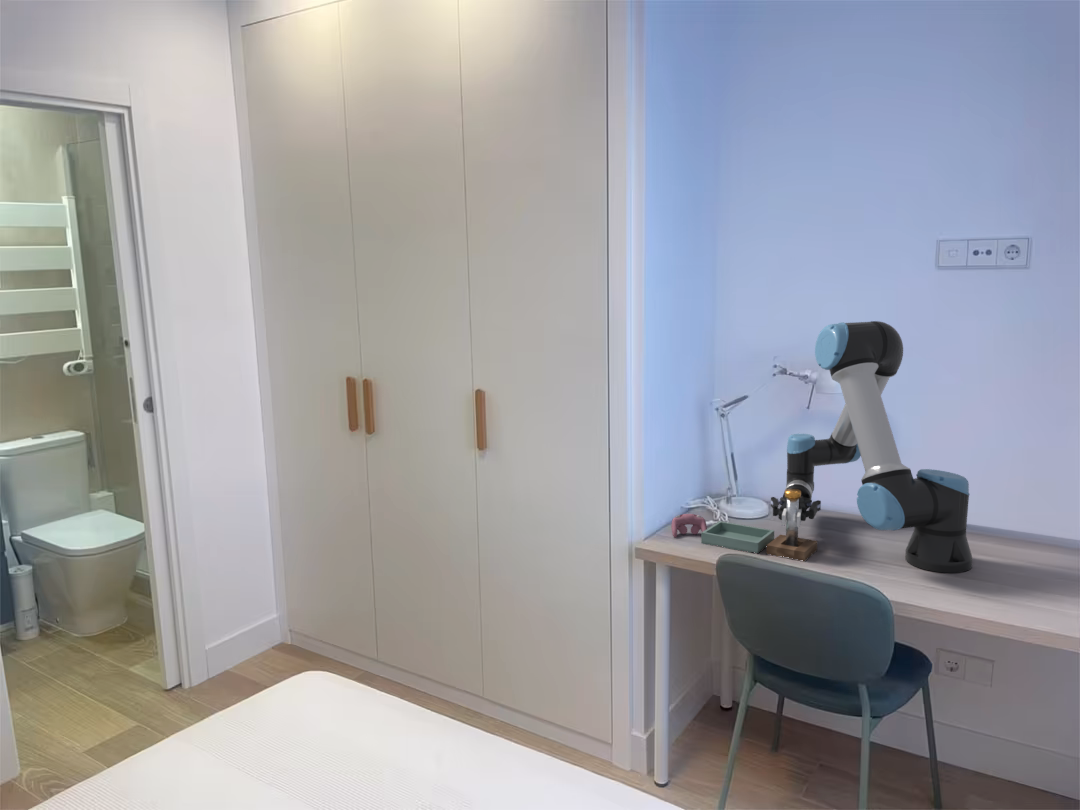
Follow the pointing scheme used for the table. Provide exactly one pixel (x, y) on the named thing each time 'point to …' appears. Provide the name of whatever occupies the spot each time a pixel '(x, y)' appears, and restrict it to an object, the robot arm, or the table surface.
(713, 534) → the tray
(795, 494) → the pin
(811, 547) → the socket block
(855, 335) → the robot arm
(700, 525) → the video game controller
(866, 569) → the table surface
